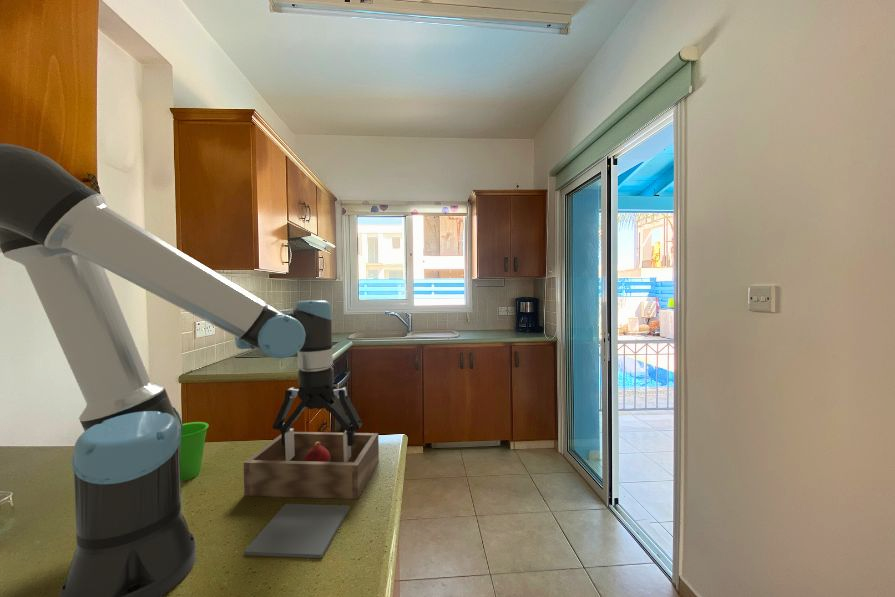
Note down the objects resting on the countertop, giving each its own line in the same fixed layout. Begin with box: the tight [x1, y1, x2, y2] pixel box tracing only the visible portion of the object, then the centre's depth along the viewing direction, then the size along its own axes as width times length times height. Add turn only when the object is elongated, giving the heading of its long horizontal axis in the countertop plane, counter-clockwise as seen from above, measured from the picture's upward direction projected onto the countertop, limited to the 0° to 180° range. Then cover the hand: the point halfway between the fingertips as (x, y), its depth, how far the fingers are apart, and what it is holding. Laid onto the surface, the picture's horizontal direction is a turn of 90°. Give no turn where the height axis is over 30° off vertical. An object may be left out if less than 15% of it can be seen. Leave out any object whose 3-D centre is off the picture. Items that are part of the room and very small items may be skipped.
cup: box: [180, 421, 210, 482], centre depth 83 cm, size 9×9×11 cm
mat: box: [243, 503, 350, 559], centre depth 64 cm, size 13×13×1 cm
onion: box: [304, 442, 331, 462], centre depth 82 cm, size 6×6×8 cm
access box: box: [243, 431, 380, 500], centre depth 82 cm, size 24×16×7 cm
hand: (318, 458), depth 83 cm, fingers open, 13 cm apart
